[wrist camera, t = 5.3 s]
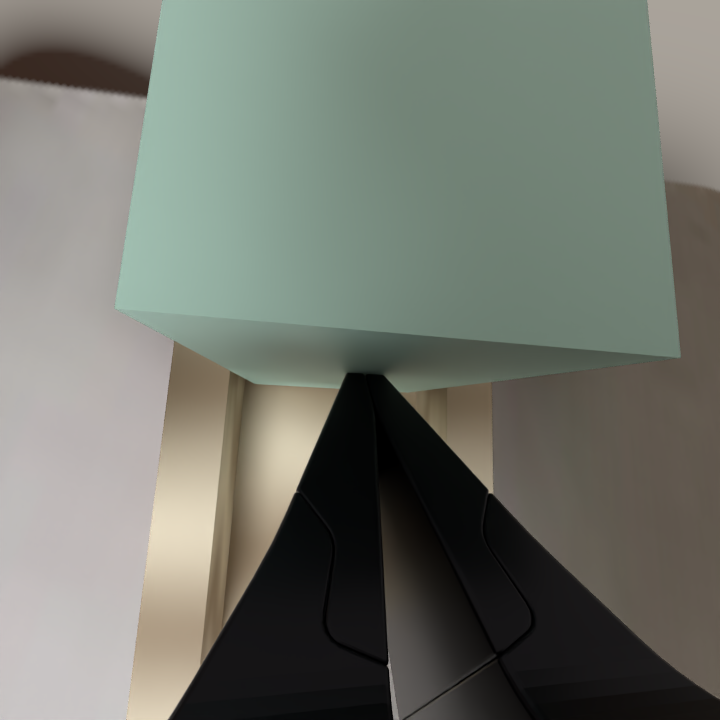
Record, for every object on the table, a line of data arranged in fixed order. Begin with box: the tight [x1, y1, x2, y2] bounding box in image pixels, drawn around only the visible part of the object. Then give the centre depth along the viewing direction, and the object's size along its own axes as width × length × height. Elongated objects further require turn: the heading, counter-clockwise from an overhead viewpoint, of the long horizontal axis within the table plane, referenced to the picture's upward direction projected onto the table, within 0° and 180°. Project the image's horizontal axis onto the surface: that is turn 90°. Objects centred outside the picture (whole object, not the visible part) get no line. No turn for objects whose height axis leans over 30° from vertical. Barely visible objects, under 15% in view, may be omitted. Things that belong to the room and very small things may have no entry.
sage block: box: [114, 0, 681, 393], centre depth 9 cm, size 6×6×10 cm
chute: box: [126, 341, 493, 720], centre depth 12 cm, size 17×10×4 cm, turn 178°
